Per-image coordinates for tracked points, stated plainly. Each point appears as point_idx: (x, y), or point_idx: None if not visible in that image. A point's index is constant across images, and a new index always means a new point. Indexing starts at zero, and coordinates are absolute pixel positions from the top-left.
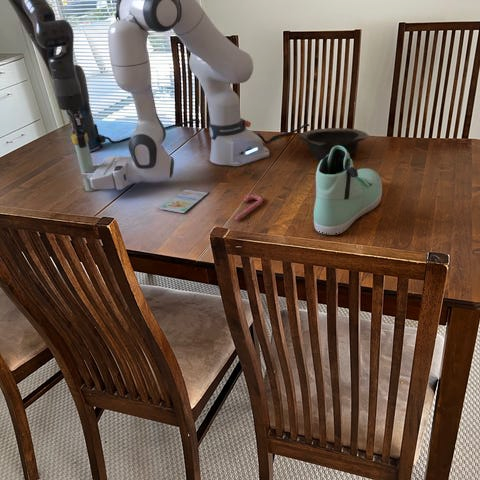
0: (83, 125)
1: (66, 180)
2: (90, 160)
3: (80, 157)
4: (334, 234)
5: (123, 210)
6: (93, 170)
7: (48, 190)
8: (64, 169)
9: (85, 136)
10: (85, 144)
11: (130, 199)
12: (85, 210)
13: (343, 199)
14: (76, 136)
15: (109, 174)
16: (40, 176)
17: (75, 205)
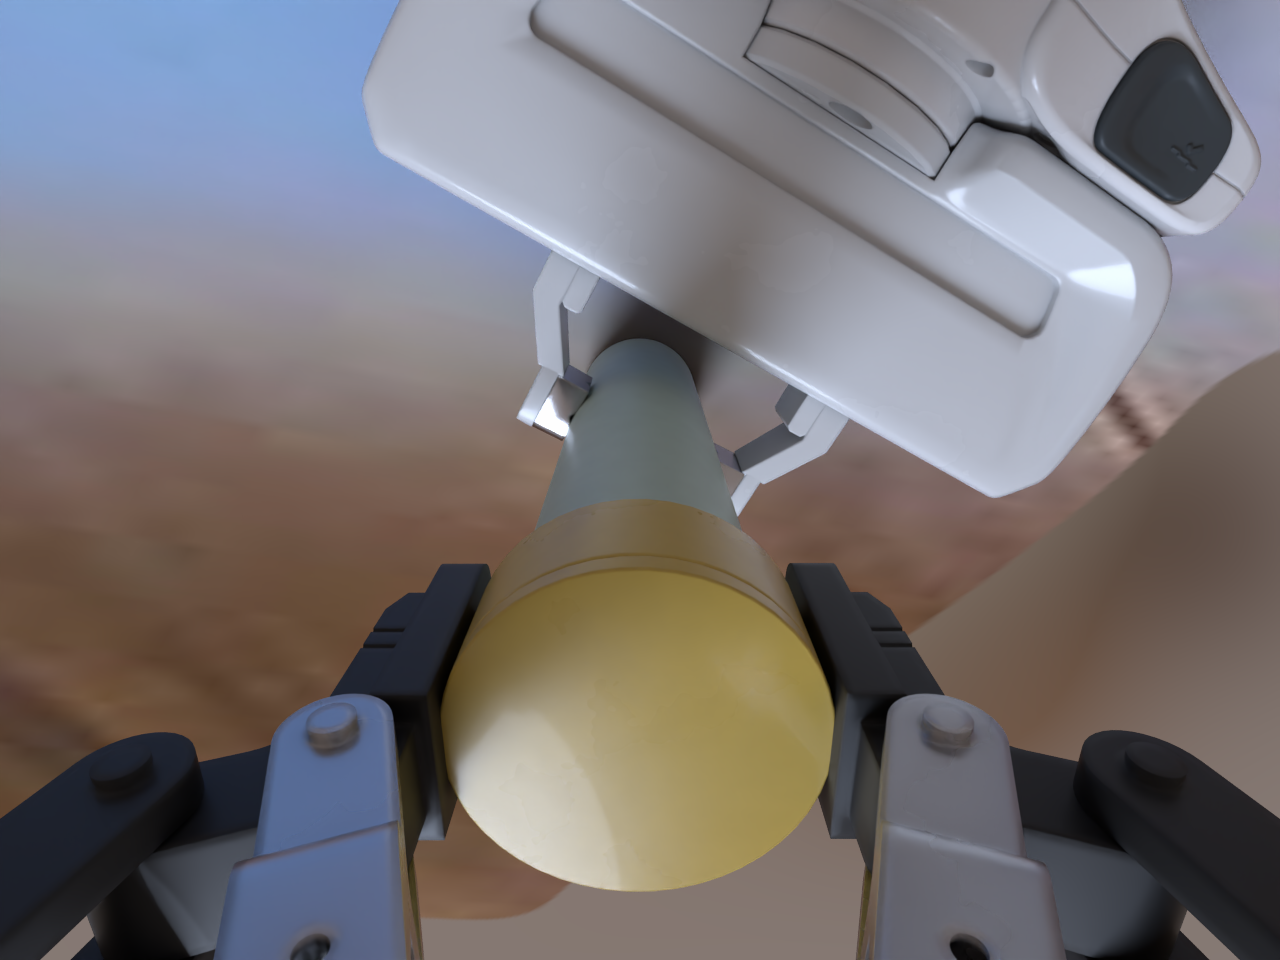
0: (1049, 908)
1: (318, 547)
2: (701, 437)
3: None
4: None
5: (1276, 253)
6: (681, 390)
7: None
8: (31, 521)
9: (794, 624)
10: (842, 590)
11: None
12: (1019, 522)
13: None
14: (716, 809)
15: (1168, 284)
16: (124, 704)
17: (875, 568)
